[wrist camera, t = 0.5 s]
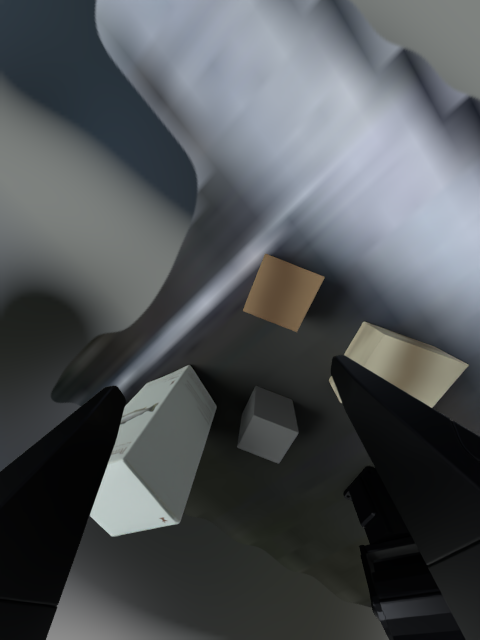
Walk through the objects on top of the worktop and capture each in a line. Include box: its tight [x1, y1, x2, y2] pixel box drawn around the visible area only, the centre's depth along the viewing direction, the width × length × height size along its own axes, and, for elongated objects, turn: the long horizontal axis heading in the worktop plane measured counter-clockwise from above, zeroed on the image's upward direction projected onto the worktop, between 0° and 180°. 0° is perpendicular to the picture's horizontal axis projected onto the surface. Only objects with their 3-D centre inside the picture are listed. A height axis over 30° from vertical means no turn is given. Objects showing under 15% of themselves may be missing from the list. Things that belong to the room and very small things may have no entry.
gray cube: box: [237, 386, 299, 464], centre depth 24 cm, size 5×5×5 cm
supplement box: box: [90, 365, 217, 536], centre depth 21 cm, size 7×7×13 cm
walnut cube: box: [243, 254, 325, 332], centre depth 19 cm, size 5×5×5 cm
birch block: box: [329, 321, 469, 408], centre depth 21 cm, size 8×8×4 cm
